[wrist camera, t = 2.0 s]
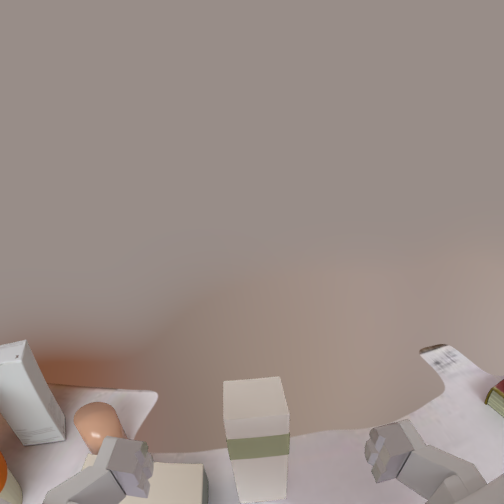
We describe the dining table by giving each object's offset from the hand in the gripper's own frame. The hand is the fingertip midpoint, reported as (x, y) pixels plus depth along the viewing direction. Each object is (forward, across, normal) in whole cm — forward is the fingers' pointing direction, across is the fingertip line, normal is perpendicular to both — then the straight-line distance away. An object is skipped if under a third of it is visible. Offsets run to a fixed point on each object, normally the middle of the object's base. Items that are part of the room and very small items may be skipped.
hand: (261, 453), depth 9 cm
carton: (+12, -1, +23) cm, 26 cm away
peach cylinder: (+18, +19, +24) cm, 35 cm away
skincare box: (+17, +31, +25) cm, 43 cm away
